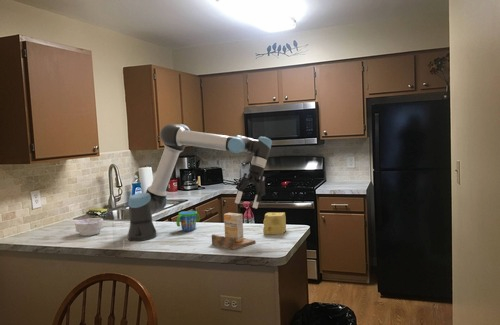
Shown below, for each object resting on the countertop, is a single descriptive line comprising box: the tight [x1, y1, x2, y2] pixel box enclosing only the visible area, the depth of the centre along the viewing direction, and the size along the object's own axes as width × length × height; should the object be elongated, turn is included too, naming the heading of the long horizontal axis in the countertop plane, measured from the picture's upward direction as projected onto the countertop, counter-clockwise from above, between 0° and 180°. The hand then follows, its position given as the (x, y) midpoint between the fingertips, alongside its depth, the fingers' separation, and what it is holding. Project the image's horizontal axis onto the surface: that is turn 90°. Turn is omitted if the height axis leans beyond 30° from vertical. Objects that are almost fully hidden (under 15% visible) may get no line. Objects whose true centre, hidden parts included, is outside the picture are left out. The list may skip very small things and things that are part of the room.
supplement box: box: [223, 212, 245, 242], centre depth 193 cm, size 8×5×13 cm, turn 56°
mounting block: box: [211, 233, 256, 251], centre depth 193 cm, size 16×14×5 cm
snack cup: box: [175, 210, 201, 232], centre depth 228 cm, size 16×10×10 cm
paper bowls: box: [74, 217, 105, 237], centre depth 232 cm, size 15×15×8 cm
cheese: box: [262, 212, 287, 236], centre depth 211 cm, size 10×11×10 cm
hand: (245, 205), depth 204 cm, fingers open, 13 cm apart
